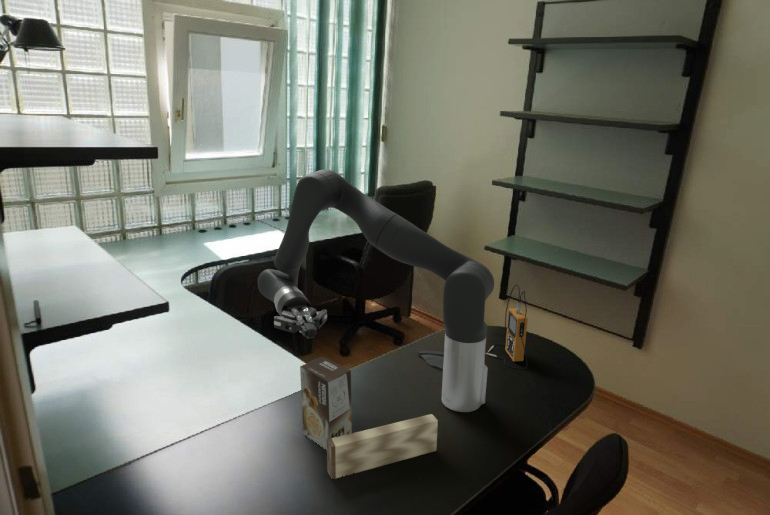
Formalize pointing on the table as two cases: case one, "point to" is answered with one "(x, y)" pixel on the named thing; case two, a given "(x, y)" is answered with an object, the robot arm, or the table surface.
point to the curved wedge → (433, 358)
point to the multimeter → (515, 333)
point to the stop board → (381, 445)
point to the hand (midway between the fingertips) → (311, 334)
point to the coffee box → (325, 400)
